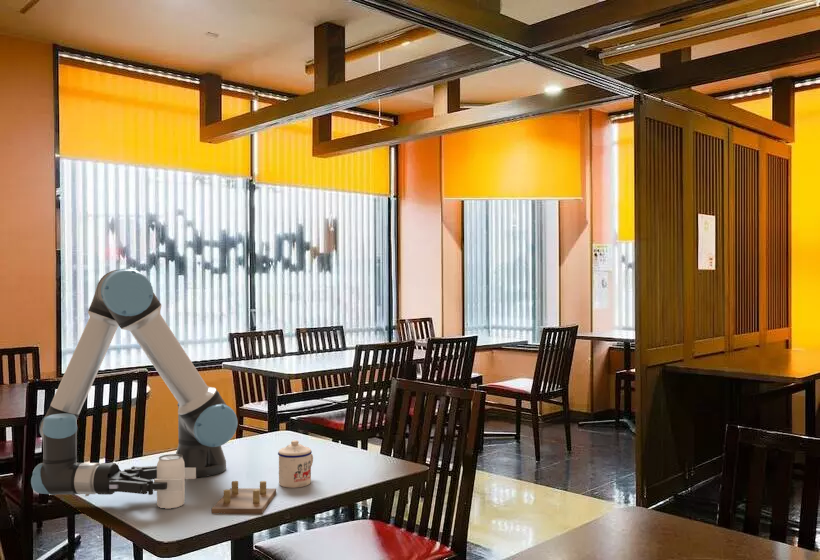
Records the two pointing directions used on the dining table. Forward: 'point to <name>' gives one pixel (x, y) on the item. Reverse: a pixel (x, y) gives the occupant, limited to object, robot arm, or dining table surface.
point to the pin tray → (244, 500)
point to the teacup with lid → (295, 465)
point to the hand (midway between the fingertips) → (188, 478)
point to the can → (171, 469)
